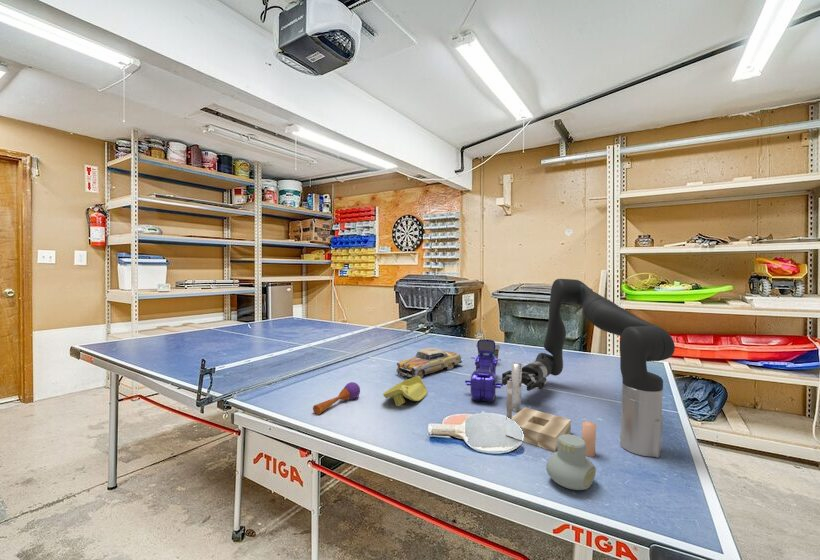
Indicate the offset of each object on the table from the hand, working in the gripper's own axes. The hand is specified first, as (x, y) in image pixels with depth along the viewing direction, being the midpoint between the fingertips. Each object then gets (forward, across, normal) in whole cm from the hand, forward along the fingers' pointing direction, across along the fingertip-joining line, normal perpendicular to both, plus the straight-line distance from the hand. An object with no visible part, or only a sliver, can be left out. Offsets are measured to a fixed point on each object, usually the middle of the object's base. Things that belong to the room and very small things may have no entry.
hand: (515, 384), depth 122 cm
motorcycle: (-13, -18, +9) cm, 24 cm away
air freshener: (+29, +26, +9) cm, 40 cm away
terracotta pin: (+13, +26, +9) cm, 30 cm away
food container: (-44, -34, +9) cm, 56 cm away
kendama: (+35, -50, +9) cm, 61 cm away
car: (-18, -48, +9) cm, 52 cm away
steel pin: (-1, 0, +9) cm, 9 cm away
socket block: (+11, +12, +9) cm, 19 cm away
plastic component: (+16, -36, +9) cm, 40 cm away
